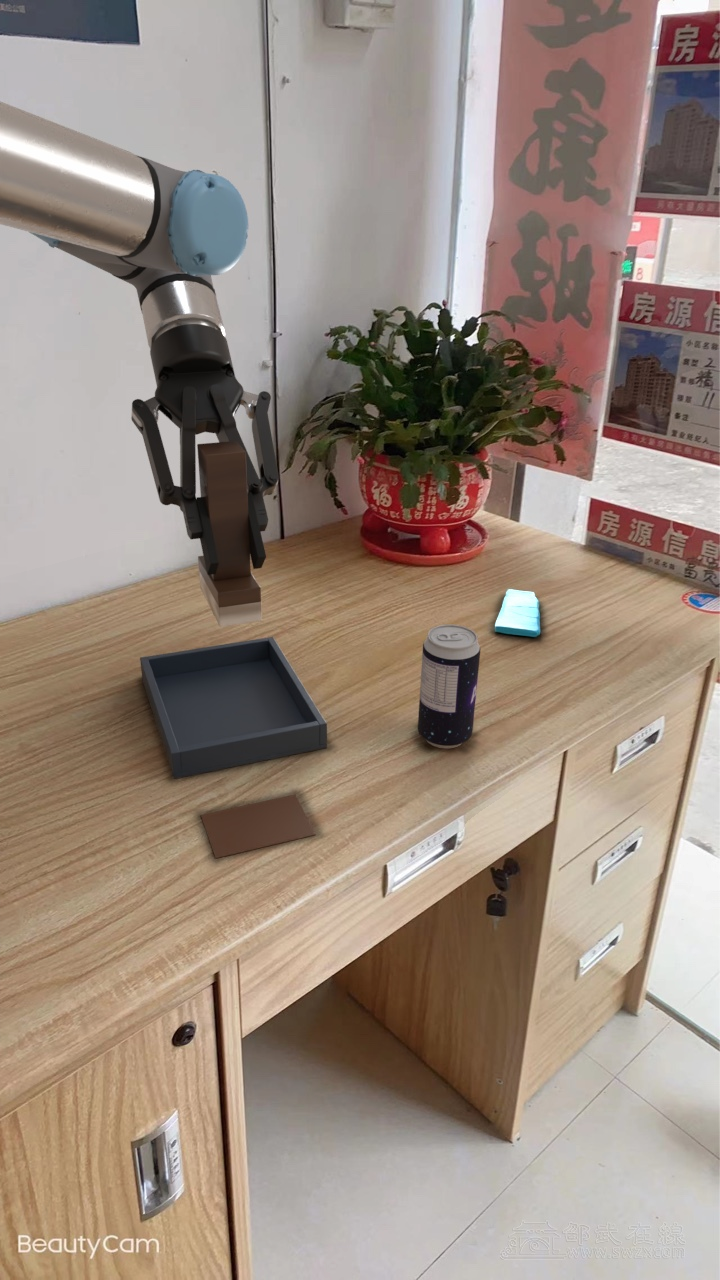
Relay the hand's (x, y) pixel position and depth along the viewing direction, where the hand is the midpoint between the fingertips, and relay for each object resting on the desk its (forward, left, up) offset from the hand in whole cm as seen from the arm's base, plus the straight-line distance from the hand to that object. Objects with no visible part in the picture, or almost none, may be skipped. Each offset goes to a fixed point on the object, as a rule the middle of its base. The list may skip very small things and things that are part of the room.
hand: (236, 565), depth 80 cm
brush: (0, +4, -6) cm, 7 cm away
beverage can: (+20, -5, -20) cm, 29 cm away
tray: (0, +7, -20) cm, 21 cm away
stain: (-2, -12, -20) cm, 24 cm away
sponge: (+42, +17, -20) cm, 50 cm away
